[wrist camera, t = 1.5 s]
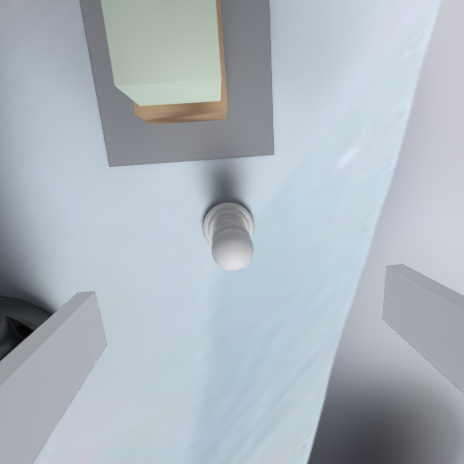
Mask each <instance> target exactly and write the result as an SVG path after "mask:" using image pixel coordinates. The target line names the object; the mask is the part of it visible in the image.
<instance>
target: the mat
mask: <svg viewBox="0 0 464 464" xmlns="http://www.w3.org/2000/svg"><path fill="white" fill-rule="evenodd" d="M220 5H221V19H222V33H223V48H224V62H225V77H226V91H227V106H228V109H227V115H226V120H213V121H198V122H183V123H168V124H153V125H151V124H149V123H148V122H146V121H145V120H143V119H142V118H140V117H139V116H137V115H136V114H135V113H134V106H133V100H132V99H131V98H129V97H128V96H127V95H126V94H124V93H123V92H122V91H121V90H119V89H118V88H117V87H116V86H115V85H114V78H113V72H112V66H111V60H110V54H109V48H108V41H107V35H106V29H105V23H104V17H103V11H102V4H101V0H80V6H81V11H82V17H83V23H84V28H85V34H86V39H87V45H88V50H89V56H90V62H91V67H92V73H93V78H94V84H95V90H96V95H97V101H98V106H99V112H100V118H101V123H102V129H103V134H104V140H105V146H106V151H107V157H108V162H109V167H113V166H127V165H141V164H155V163H168V162H182V161H196V160H210V159H224V158H238V157H252V156H265V155H274V136H273V104H272V72H271V40H270V8H269V0H220Z"/></svg>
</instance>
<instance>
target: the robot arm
mask: <svg viewBox="0 0 464 464" xmlns="http://www.w3.org/2000/svg"><path fill="white" fill-rule="evenodd" d="M382 319H383V320H384V321H385V322H386V323H387V324H388V325H389V326H390V327H391V328H392V329H394V330H395V331H396V332H397V333H398V334H399V335H400V336H401V337H402V338H403V339H404V340H406V341H407V342H408V343H409V344H410V345H411V346H412V347H413V348H414V349H415V350H416V351H417V352H419V353H420V354H421V355H422V356H423V357H424V358H425V359H426V360H427V361H428V362H430V363H431V364H432V365H433V366H434V367H435V368H436V369H437V370H438V371H439V372H440V373H441V374H442V375H444V376H445V377H446V378H447V379H448V380H449V381H450V382H451V383H452V384H454V386H456V387H457V388H458V389H459V390H460V391H461V392H462V393H463V394H464V296H463V295H461V294H459V293H457V292H455V291H453V290H451V289H449V288H447V287H446V286H444V285H442V284H440V283H438V282H436V281H434V280H432V279H430V278H428V277H426V276H424V275H422V274H421V273H419V272H417V271H415V270H413V269H411V268H409V267H407V266H405V265H403V264H399V265H388V266H386V277H385V290H384V304H383V317H382ZM106 346H107V343H106V338H105V333H104V329H103V324H102V320H101V315H100V310H99V306H98V301H97V296H96V292H95V291H92V292H80V293H77V294H76V295H75V296H73V297H72V298H71V299H70V300H69V301H68V302H67V303H66V304H64V305H63V306H62V307H61V308H60V309H59V310H58V311H57V312H55V313H54V314H53V315H52V316H51V315H50V314H48V313H47V312H45V311H44V310H42V309H40V308H39V307H36V306H34V305H32V304H30V303H27V302H24V301H21V300H17V299H12V298H6V297H0V464H33V462H34V461H35V459H36V458H37V456H38V454H39V453H40V451H41V450H42V448H43V447H44V445H45V443H46V442H47V440H48V439H49V437H50V435H51V434H52V432H53V431H54V429H55V427H56V426H57V424H58V423H59V421H60V419H61V418H62V416H63V415H64V413H65V411H66V410H67V408H68V407H69V405H70V403H71V402H72V400H73V399H74V397H75V396H76V394H77V392H78V391H79V389H80V388H81V386H82V384H83V383H84V381H85V380H86V378H87V376H88V375H89V373H90V372H91V370H92V368H93V367H94V365H95V364H96V362H97V360H98V359H99V357H100V356H101V354H102V352H103V351H104V349H105V348H106Z"/></svg>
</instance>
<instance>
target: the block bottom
mask: <svg viewBox="0 0 464 464" xmlns="http://www.w3.org/2000/svg"><path fill="white" fill-rule="evenodd" d="M216 11H217V24H218V38H219V52H220V65H221V101H213V102H198V103H182V104H167V105H151V106H139V105H138V104H137V103H136V102H134V101H133V106H134V113H135V114H136V115H137V116H139V117H140V118H142V119H143V120H145V121H146V122H148V123H149V124H151V125H153V124H168V123H183V122H198V121H213V120H226V115H227V109H228V106H227V91H226V77H225V62H224V48H223V33H222V19H221V5H220V0H216Z"/></svg>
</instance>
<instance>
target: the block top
mask: <svg viewBox="0 0 464 464" xmlns="http://www.w3.org/2000/svg"><path fill="white" fill-rule="evenodd" d="M101 4H102V11H103V17H104V23H105V29H106V35H107V41H108V48H109V54H110V60H111V66H112V72H113V78H114V85H115V86H116V87H117V88H118V89H119V90H121V91H122V92H123V93H124V94H126V95H127V96H128V97H129V98H131V99H132V100H133V101H134V102H136V103H137V104H138V105H139V106H151V105H167V104H182V103H198V102H213V101H221V65H220V52H219V38H218V24H217V11H216V0H101Z"/></svg>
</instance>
